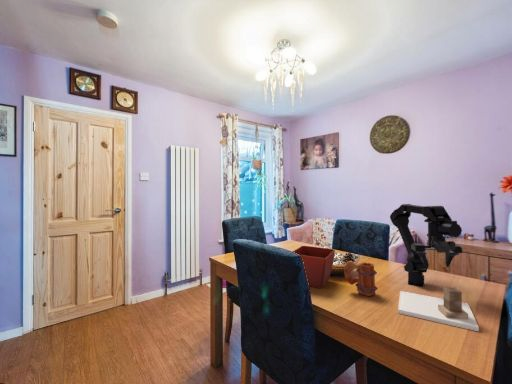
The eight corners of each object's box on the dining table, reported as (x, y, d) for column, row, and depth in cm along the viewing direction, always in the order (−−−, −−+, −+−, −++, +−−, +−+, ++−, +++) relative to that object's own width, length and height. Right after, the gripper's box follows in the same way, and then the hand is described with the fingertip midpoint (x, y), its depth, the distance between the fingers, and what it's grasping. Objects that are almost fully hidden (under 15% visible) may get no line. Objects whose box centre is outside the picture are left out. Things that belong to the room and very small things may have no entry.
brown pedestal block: (446, 317, 90) (446, 292, 89) (438, 309, 95) (437, 285, 95) (468, 319, 88) (468, 293, 88) (458, 311, 94) (458, 286, 94)
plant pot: (326, 292, 116) (325, 258, 116) (289, 285, 126) (289, 253, 126) (336, 279, 132) (335, 249, 132) (302, 273, 142) (302, 245, 142)
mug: (376, 291, 116) (375, 260, 116) (378, 298, 109) (378, 265, 109) (344, 287, 121) (343, 258, 121) (344, 294, 114) (343, 263, 113)
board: (398, 313, 96) (398, 309, 96) (400, 294, 113) (400, 290, 113) (478, 331, 83) (478, 327, 83) (467, 306, 100) (467, 303, 100)
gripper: (420, 235, 106) (420, 271, 106) (470, 236, 102) (470, 273, 102) (410, 231, 117) (410, 263, 117) (455, 232, 112) (455, 265, 113)
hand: (435, 266), depth 112 cm, fingers open, 9 cm apart
